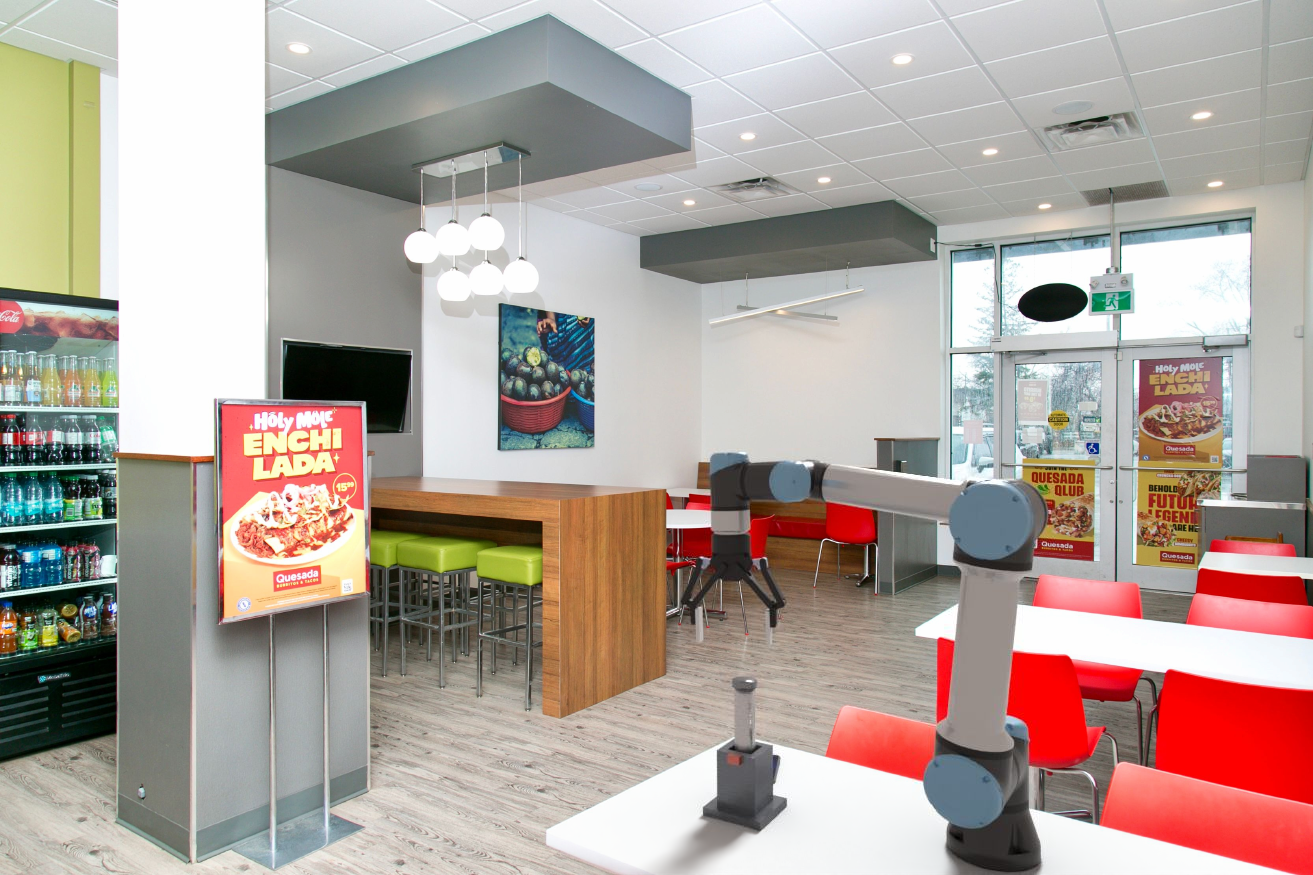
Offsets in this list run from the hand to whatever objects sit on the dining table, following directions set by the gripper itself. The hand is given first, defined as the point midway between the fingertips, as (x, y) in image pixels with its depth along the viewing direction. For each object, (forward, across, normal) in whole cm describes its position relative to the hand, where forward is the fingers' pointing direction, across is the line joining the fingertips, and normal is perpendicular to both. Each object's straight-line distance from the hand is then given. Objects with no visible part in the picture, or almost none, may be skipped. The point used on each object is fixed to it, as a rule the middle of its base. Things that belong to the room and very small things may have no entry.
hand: (734, 643), depth 156 cm
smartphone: (+33, 0, -22) cm, 39 cm away
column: (+30, -1, -1) cm, 30 cm away
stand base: (+32, -1, -1) cm, 32 cm away
